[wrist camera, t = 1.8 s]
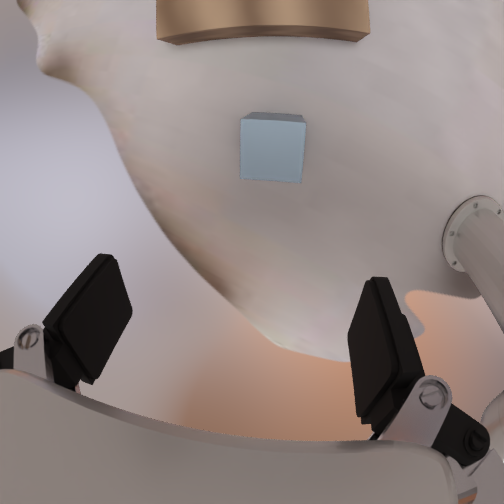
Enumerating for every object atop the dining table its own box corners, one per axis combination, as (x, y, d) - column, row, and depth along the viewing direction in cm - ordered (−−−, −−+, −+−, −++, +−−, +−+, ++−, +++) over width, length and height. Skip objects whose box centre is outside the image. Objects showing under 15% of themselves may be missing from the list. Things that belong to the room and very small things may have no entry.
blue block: (301, 115, 28) (306, 123, 21) (298, 161, 31) (301, 183, 24) (252, 112, 28) (240, 119, 22) (251, 158, 31) (239, 178, 25)
